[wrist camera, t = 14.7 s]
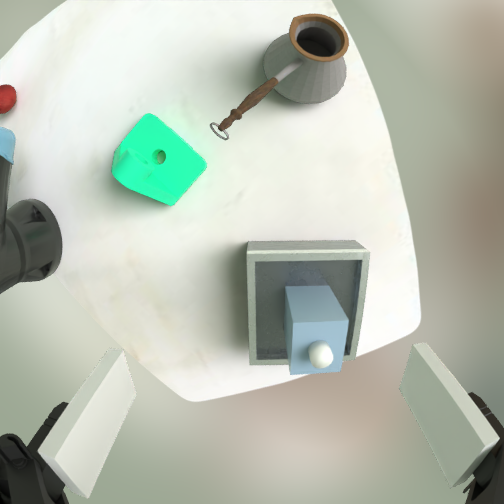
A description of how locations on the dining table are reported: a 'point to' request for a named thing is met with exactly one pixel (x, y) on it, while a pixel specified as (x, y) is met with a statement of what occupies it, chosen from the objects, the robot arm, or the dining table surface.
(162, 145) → the camera mount
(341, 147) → the dining table surface
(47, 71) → the dining table surface
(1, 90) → the onion
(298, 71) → the coffee pot
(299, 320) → the blue bottle
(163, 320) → the dining table surface
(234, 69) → the dining table surface
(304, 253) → the open square box
